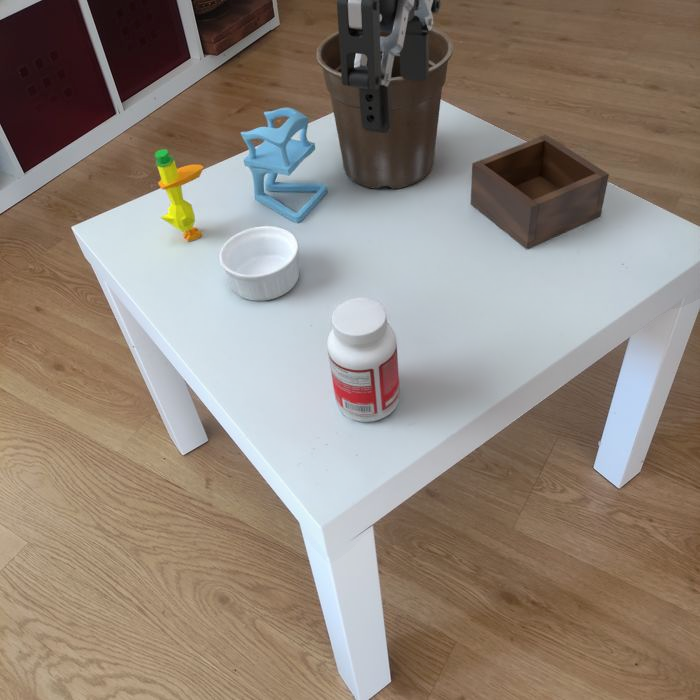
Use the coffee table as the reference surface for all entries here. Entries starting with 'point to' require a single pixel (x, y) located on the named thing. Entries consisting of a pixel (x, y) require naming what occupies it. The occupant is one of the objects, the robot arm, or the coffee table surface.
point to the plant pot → (407, 118)
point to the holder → (538, 190)
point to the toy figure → (178, 193)
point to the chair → (281, 161)
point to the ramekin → (261, 262)
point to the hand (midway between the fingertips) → (396, 102)
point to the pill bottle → (363, 360)
